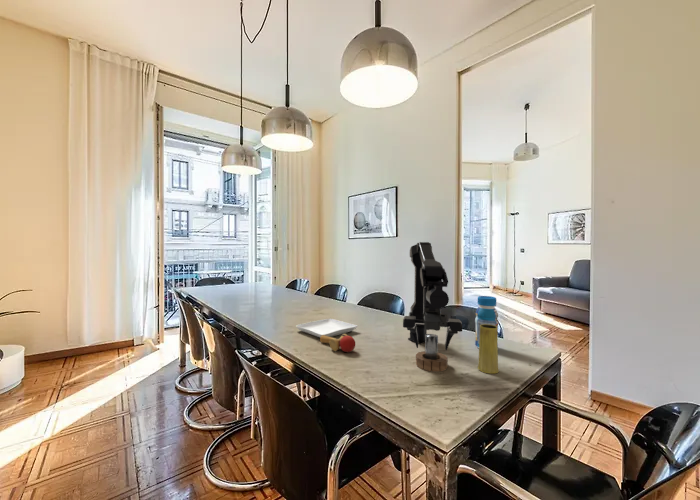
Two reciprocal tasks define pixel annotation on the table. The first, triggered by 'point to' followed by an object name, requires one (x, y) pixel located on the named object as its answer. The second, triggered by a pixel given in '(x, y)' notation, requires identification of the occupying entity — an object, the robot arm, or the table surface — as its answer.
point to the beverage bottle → (485, 315)
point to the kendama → (339, 342)
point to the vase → (488, 349)
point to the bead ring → (431, 362)
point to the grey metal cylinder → (431, 347)
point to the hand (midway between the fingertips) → (431, 348)
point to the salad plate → (326, 327)
